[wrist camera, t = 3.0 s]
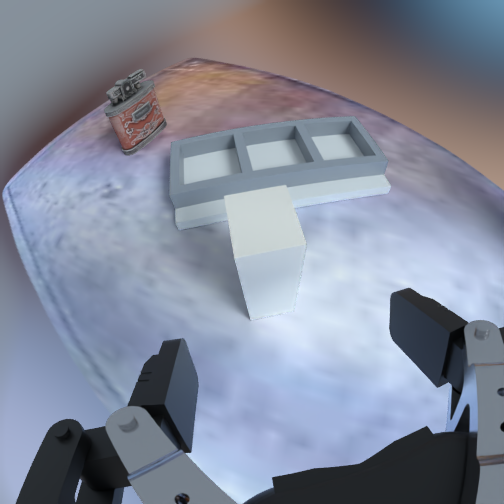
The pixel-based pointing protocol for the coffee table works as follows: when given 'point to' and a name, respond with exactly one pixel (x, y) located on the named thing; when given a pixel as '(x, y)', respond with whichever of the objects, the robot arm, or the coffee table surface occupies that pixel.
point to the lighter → (135, 112)
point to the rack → (274, 166)
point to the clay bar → (266, 249)
